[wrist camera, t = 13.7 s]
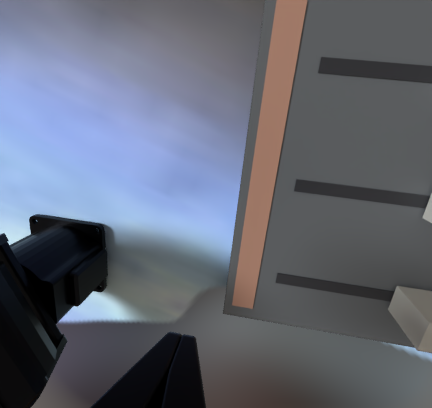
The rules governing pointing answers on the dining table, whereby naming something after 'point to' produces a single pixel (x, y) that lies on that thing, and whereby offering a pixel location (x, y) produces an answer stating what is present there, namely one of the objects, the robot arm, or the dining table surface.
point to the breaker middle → (428, 211)
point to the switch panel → (336, 167)
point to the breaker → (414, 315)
